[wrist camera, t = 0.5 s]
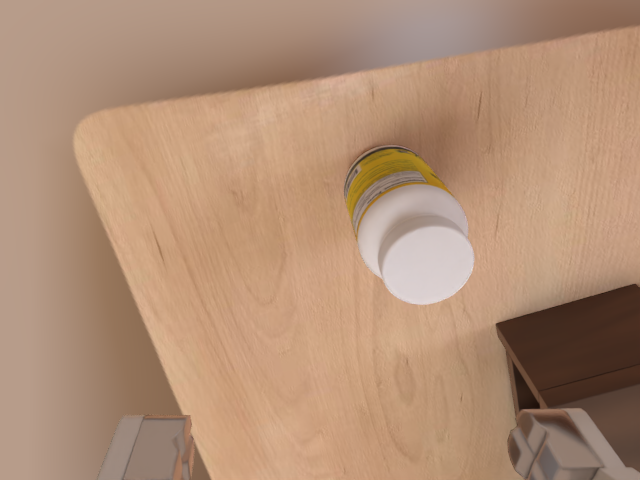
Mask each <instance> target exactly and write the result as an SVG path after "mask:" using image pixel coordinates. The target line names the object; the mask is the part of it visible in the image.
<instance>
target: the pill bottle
mask: <svg viewBox="0 0 640 480" xmlns="http://www.w3.org/2000/svg"><path fill="white" fill-rule="evenodd" d="M344 197H345V202H346V206H347V209H348V213H349V216H350V219H351V223H352V226H353V230H354V233H355V237H356V241H357V244H358V248H359V251H360V254H361V257H362V259H363V261H364V263H365V264H366V266H367V267H368V268H369V269H370V270H371V271H372V272H373V273H374V274H375V275H377V276H378V277H380V278H381V279H383V281H384V284H385V285H386V287H387V289H388V290H389V291H390V292H391V293H392V294H393V295H394V296H395V297H397V298H398V299H400V300H402V301H404V302H407V303H411V304H418V305H425V304H432V303H436V302H439V301H442V300H444V299H446V298H449V297H450V296H452V295H453V294H455V293H456V292H457V291H459V290H460V289H461V288H462V287H463V285H464V284H465V283H466V282H467V280H468V279H469V277H470V275H471V272H472V270H473V265H474V252H473V248H472V245H471V243H470V241H469V240H468V222H467V218H466V215H465V212H464V211H463V209H462V207H461V205H460V204H459V202H458V201H457V200H456V199H455V197H454V196H453V195H452V194H451V192H450V191H449V190H448V189H447V188H446V186H445V185H444V184H443V183H442V182H441V180H440V179H439V178H438V177H437V176H436V174H435V173H434V172H433V171H432V169H431V168H430V167H429V166H428V165H427V164H426V162H425V161H424V160H423V159H422V158H421V157H420V156H419V155H418V154H417V153H415V152H414V151H412V150H410V149H408V148H406V147H403V146H398V145H384V146H379V147H375V148H373V149H370V150H368V151H367V152H365V153H364V154H362V155H361V156H360V157H358V158H357V159H356V160H355V161H354V163H353V164H352V165H351V167H350V169H349V170H348V173H347V175H346V178H345V182H344Z"/></svg>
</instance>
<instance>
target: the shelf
mask: <svg viewBox="0 0 640 480" xmlns="http://www.w3.org/2000/svg"><path fill="white" fill-rule="evenodd" d="M496 328H497V334H498V337H499V339H500V340H501V342H502V344H503V345H504V347H505V349H506V355H507V361H508V368H509V374H510V381H511V387H512V394H513V400H514V407H515V413H516V417H517V414H518V412H519V411H521V410H522V409H546V408H559V409H564V408H581V409H583V410H584V411H585V412H586V413H587V414H588V415H589V417H590V418H591V419H592V421H593V422H594V424H595V425H596V426H597V428H598V429H599V431H600V432H601V433H602V435H603V436H604V437H605V439H606V440H607V442H608V443H609V444H610V446H611V447H612V449H613V450H614V451H615V453H616V454H617V455H618V457H619V458H620V460H621V461H622V462H623V464H624V465H625V467H632V468H634V469H635V470H636V471H638V472H639V473H640V287H638V286H637V285H636V284H634V285H630V286H627V287H623V288H620V289H616V290H613V291H609V292H606V293H602V294H599V295H596V296H592V297H589V298H585V299H582V300H578V301H575V302H571V303H568V304H564V305H561V306H557V307H554V308H550V309H547V310H543V311H540V312H536V313H533V314H529V315H526V316H522V317H519V318H515V319H512V320H508V321H505V322H501V323H498V324H496ZM517 426H518V423H517Z"/></svg>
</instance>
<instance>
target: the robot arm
mask: <svg viewBox="0 0 640 480" xmlns="http://www.w3.org/2000/svg"><path fill="white" fill-rule="evenodd" d="M516 421H517V423H518V426H517V427H515V428H514V429H513V430H511V432H510V435H509V438H508V453H509V457H510V460H511V462H512V465H513V467H514V469H515V471H516V472H518V473H519V474H520V475H521V476H522V477H524V478H525V480H640V473H639V472H638V471H636V470H635V469H634V468H632V467H625V465H624V464H623V462H622V461H621V460H620V458H619V457H618V455H617V454H616V453H615V451H614V450H613V449H612V447H611V446H610V444H609V443H608V442H607V440H606V439H605V437H604V436H603V435H602V433H601V432H600V431H599V429H598V428H597V426H596V425H595V424H594V422H593V421H592V419H591V418H590V417H589V415H588V414H587V413H586V412H585V411H584V410H583V409H581V408H564V409H559V408H546V409H522V410H521V411H519V412H518V414H517V417H516ZM191 427H192V423H191V417H190V415H124V416H123V417H122V418H121V420H120V421H119V423H118V425H117V428H116V430H115V433H114V436H113V438H112V441H111V443H110V446H109V448H108V451H107V453H106V456H105V459H104V461H103V464H102V466H101V469H100V471H99V474H98V477H97V479H96V480H190V479H191V474H192V469H193V461H194V439H193V437H192V436H191V435H190V431H191Z"/></svg>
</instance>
